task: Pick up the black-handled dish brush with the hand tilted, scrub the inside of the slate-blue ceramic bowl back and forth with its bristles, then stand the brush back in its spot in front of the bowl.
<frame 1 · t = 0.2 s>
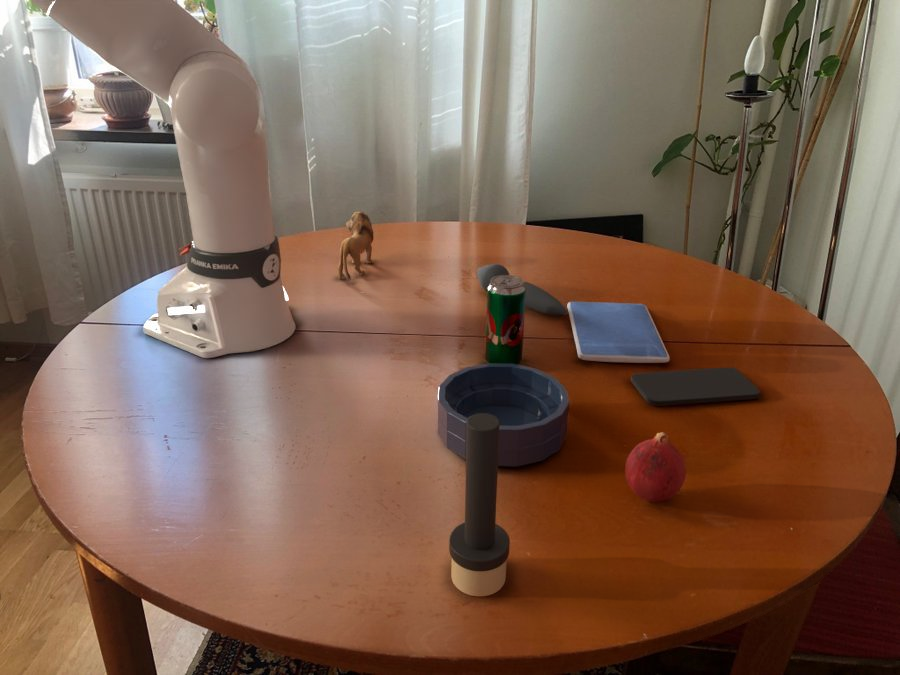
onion: (650, 502, 75), on the table
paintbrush: (519, 302, 121), on the table
dish brush: (478, 576, 66), on the table
soda can: (503, 363, 102), on the table
lion figurine: (355, 268, 134), on the table
phone: (693, 390, 95), on the table
bowl: (501, 434, 86), on the table
tablet: (614, 335, 110), on the table
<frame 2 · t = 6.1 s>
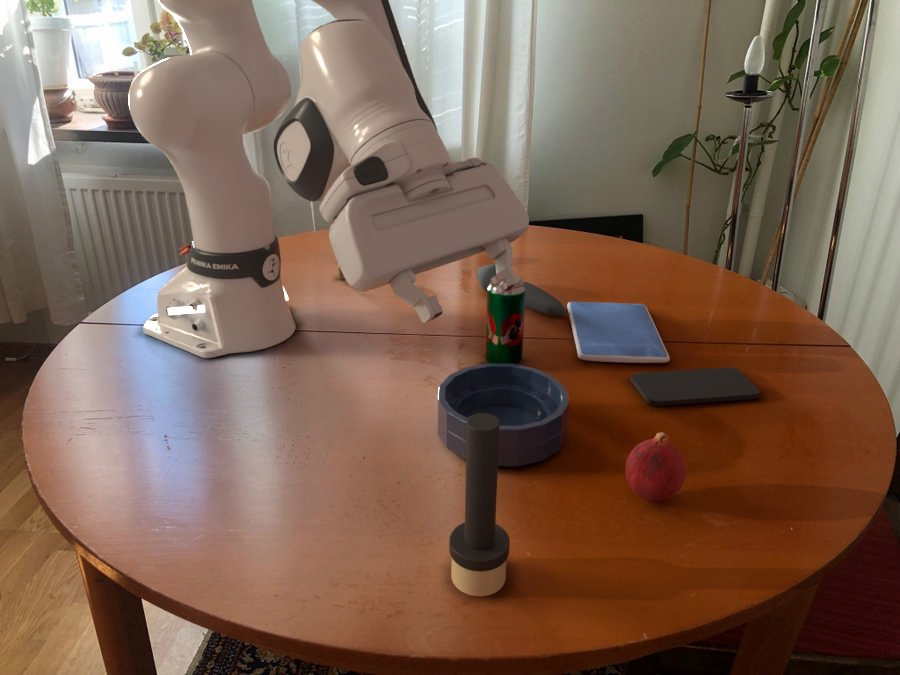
hand: (473, 303, 68), 21 cm above the table, tool tilted 40°, fingers open, 8 cm apart
nothing on the table moved.
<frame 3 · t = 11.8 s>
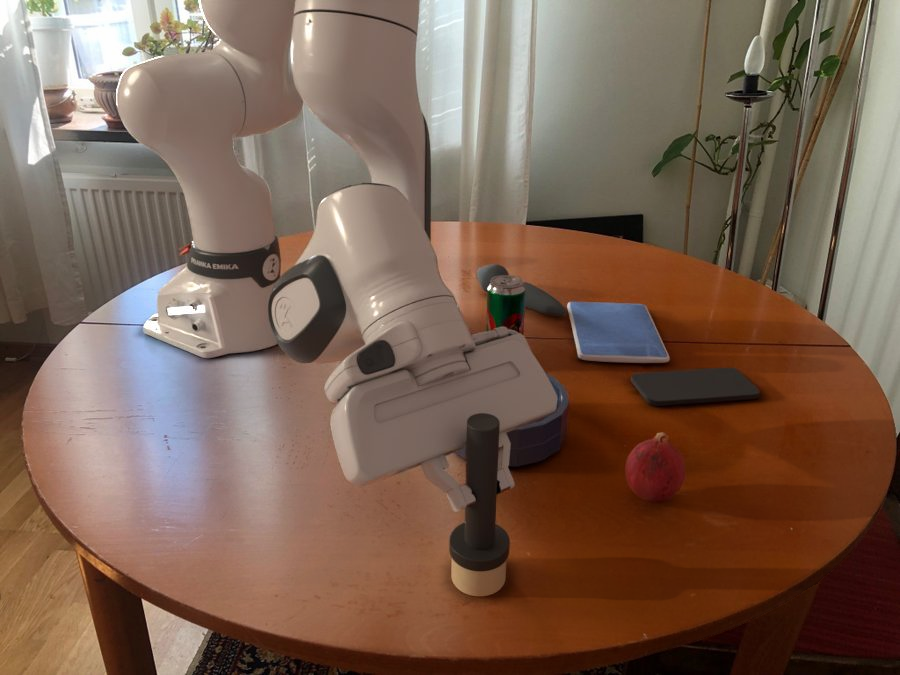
hand: (485, 499, 61), 9 cm above the table, tool tilted 45°, fingers closed on dish brush, 2 cm apart
dish brush: (478, 576, 66), on the table, touching gripper
everything else where it was.
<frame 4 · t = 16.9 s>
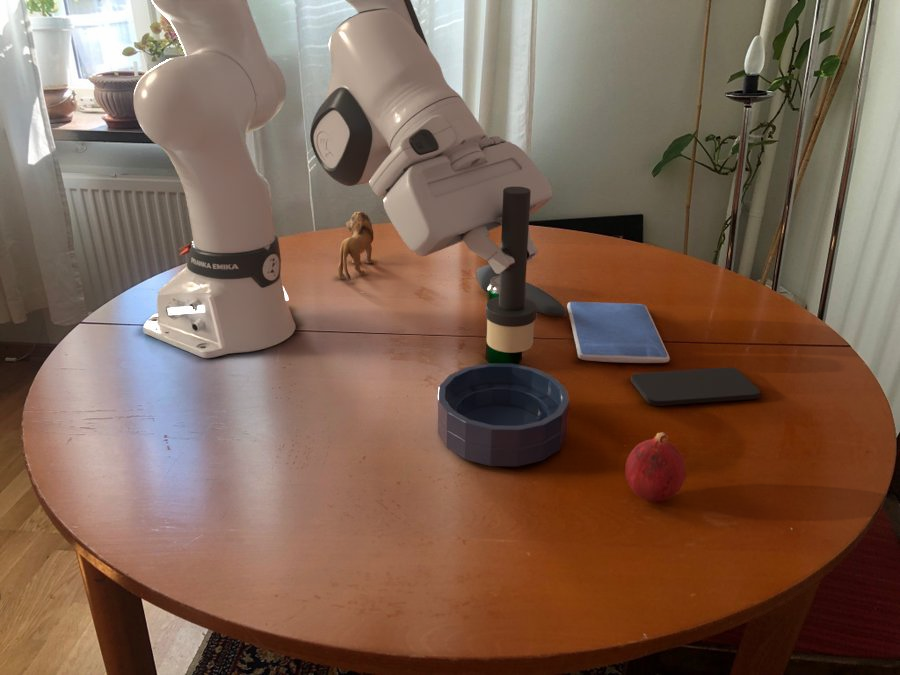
hand: (518, 263, 73), 22 cm above the table, tool tilted 45°, fingers closed on dish brush, 2 cm apart
dish brush: (509, 342, 77), point 13 cm above the table, touching gripper
everything else where it was.
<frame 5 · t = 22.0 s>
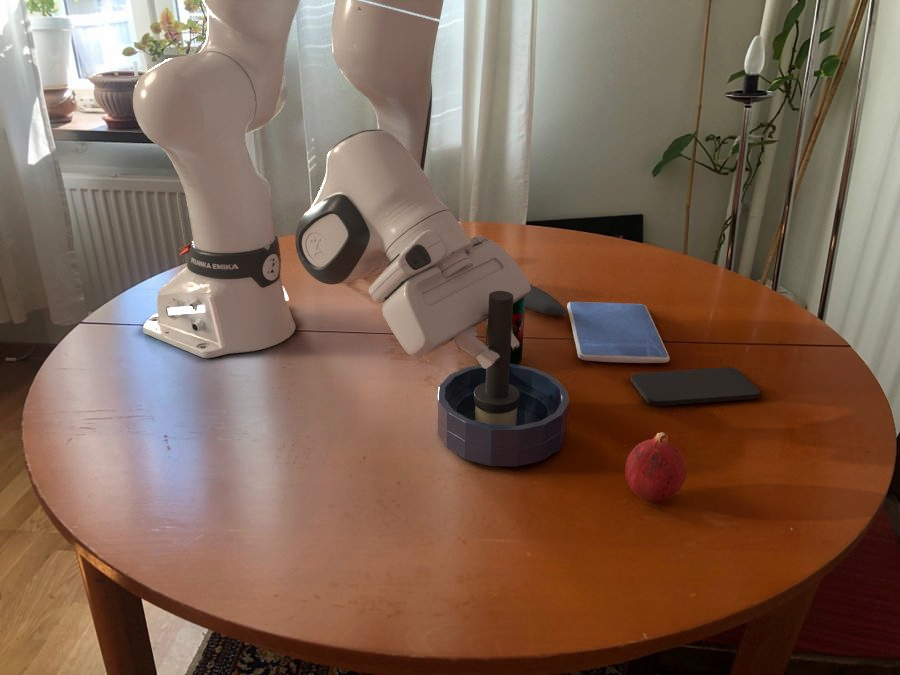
hand: (502, 357, 82), 10 cm above the table, tool tilted 45°, fingers closed on dish brush, 2 cm apart
dish brush: (495, 423, 86), point 1 cm above the table, touching gripper
everything else where it was.
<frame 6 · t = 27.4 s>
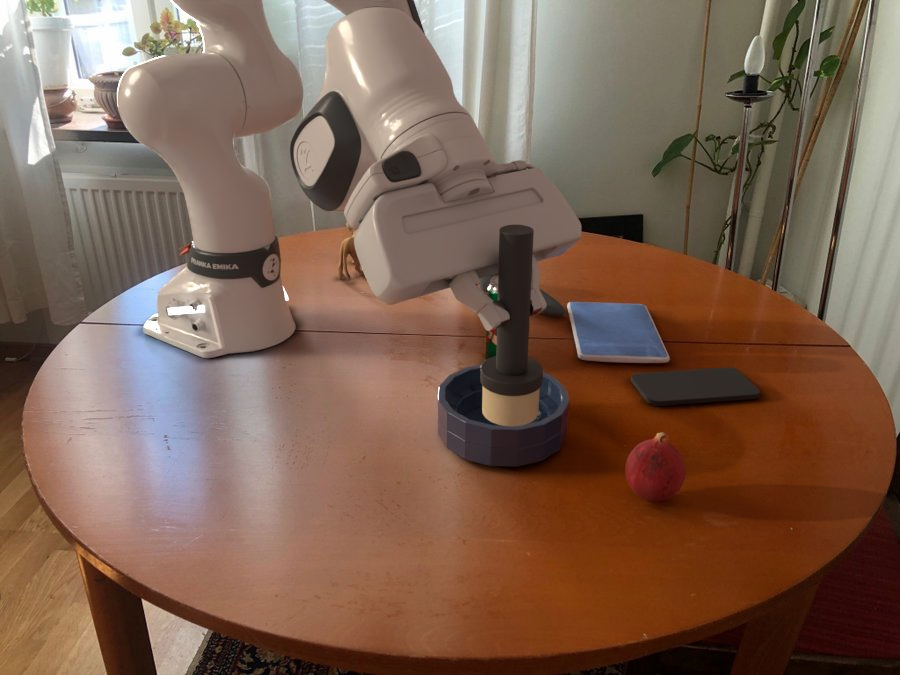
hand: (517, 319, 59), 23 cm above the table, tool tilted 45°, fingers closed on dish brush, 2 cm apart
dish brush: (510, 411, 63), point 14 cm above the table, touching gripper
everything else where it was.
when the fingers open (9 cm above the table, at t = 32.2 s): dish brush stays where it is, on the table.
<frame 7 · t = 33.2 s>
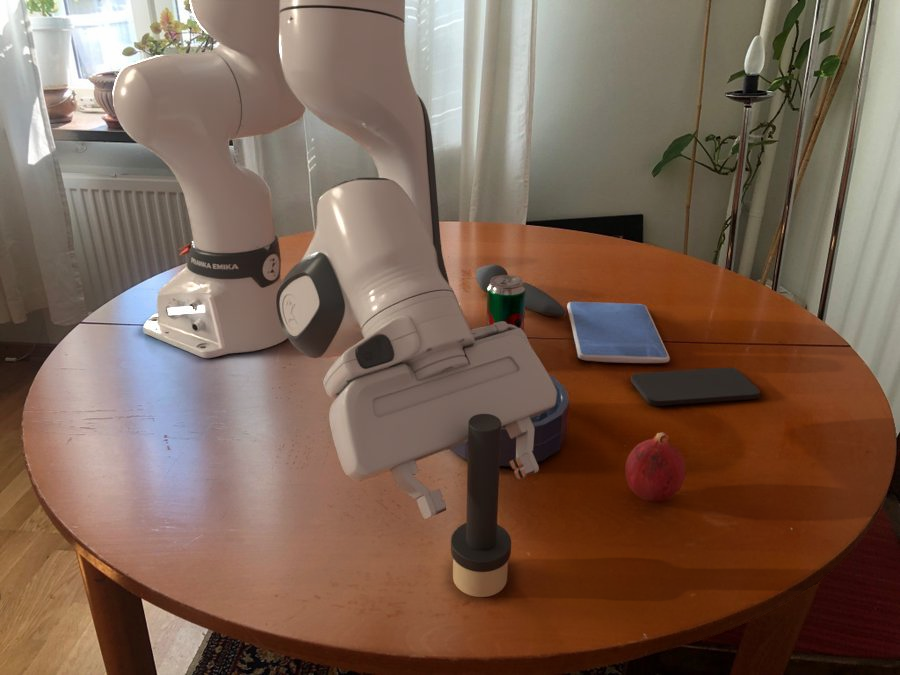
hand: (484, 494, 61), 9 cm above the table, tool tilted 45°, fingers open, 8 cm apart
dish brush: (479, 576, 66), on the table
everything else where it was.
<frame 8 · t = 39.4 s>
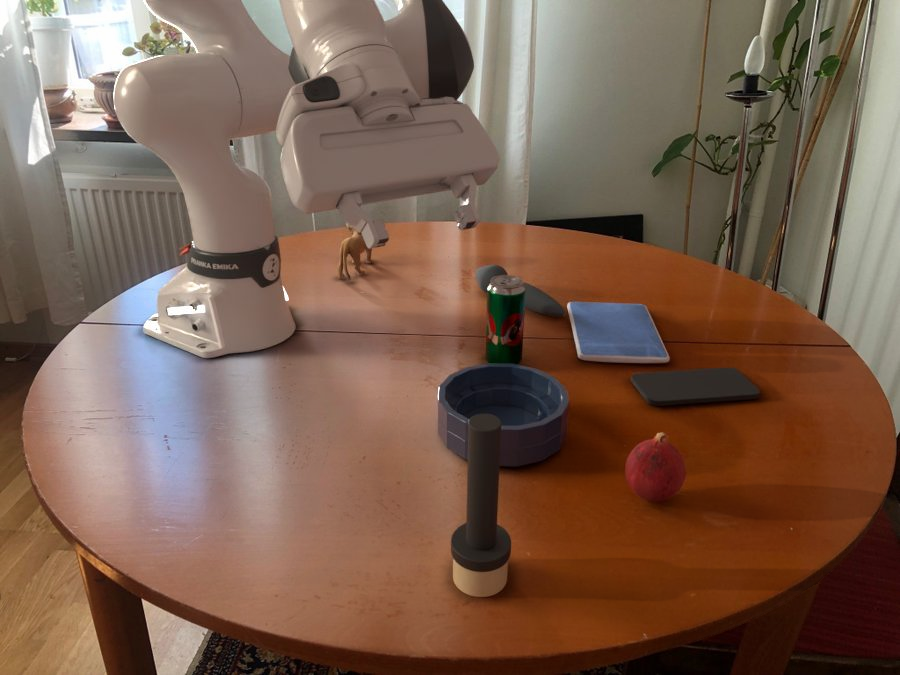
hand: (426, 234, 65), 27 cm above the table, tool tilted 45°, fingers open, 8 cm apart
nothing on the table moved.
at the end: dish brush inside the target area on the table beside the bowl (0.1 cm from its centre), on the table; dish brush tilted 0°; the gripper is holding nothing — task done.
